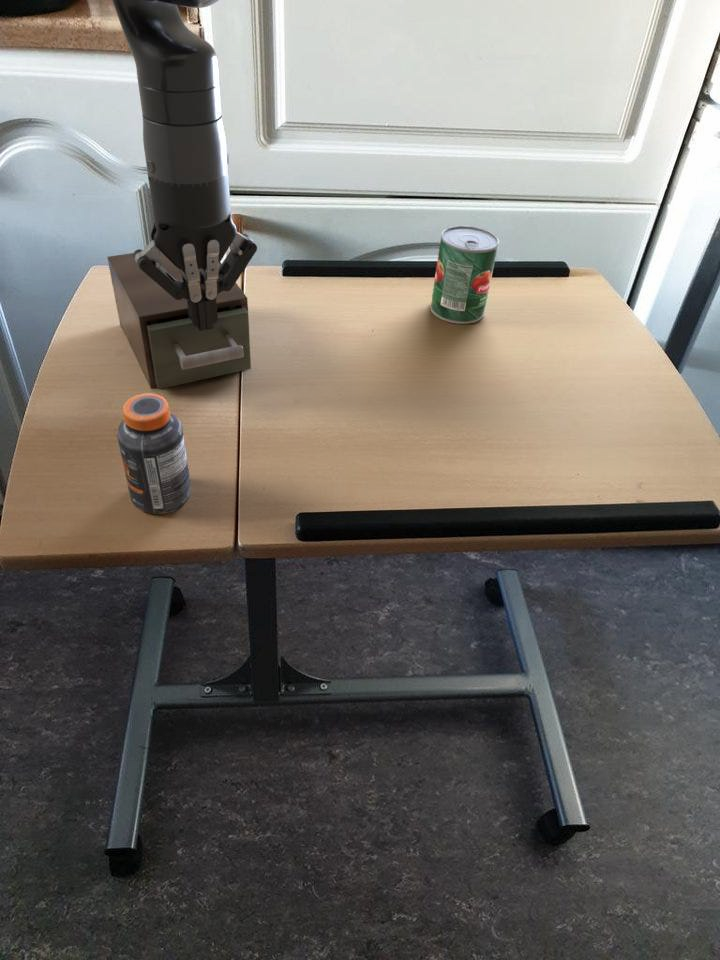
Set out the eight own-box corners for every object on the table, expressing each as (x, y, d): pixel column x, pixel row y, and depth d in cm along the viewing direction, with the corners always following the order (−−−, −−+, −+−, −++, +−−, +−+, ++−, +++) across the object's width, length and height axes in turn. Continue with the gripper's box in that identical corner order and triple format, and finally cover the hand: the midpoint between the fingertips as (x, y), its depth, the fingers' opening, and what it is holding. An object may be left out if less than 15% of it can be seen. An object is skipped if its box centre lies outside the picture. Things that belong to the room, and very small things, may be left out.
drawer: (263, 388, 84) (261, 330, 78) (168, 409, 79) (160, 350, 74) (213, 312, 96) (208, 258, 90) (128, 328, 91) (118, 272, 86)
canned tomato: (427, 296, 105) (437, 223, 97) (478, 297, 105) (493, 226, 98) (434, 323, 99) (445, 249, 92) (488, 325, 100) (504, 251, 92)
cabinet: (251, 366, 88) (247, 297, 82) (150, 388, 84) (138, 316, 77) (211, 308, 98) (205, 242, 92) (119, 324, 94) (107, 256, 87)
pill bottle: (125, 483, 72) (105, 392, 64) (183, 469, 74) (170, 380, 66) (137, 523, 68) (118, 431, 60) (198, 507, 70) (186, 417, 62)
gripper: (240, 146, 71) (248, 300, 83) (107, 159, 66) (135, 321, 78) (268, 172, 67) (272, 332, 78) (126, 188, 62) (153, 356, 73)
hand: (203, 326), depth 78 cm, fingers closed
